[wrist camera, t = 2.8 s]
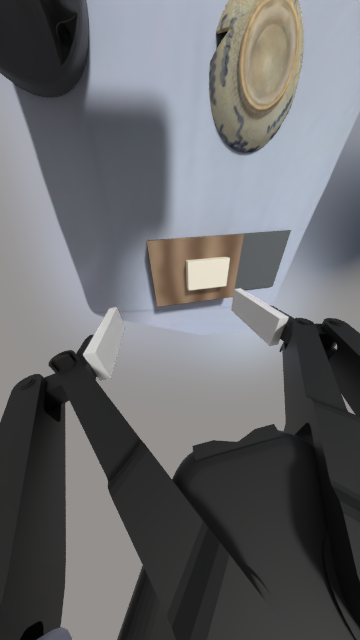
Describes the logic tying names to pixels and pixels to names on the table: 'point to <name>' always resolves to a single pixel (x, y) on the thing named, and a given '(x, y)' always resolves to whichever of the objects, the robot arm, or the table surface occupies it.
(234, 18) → the decorative bowl
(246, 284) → the mat
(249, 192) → the table surface
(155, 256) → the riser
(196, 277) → the tile
